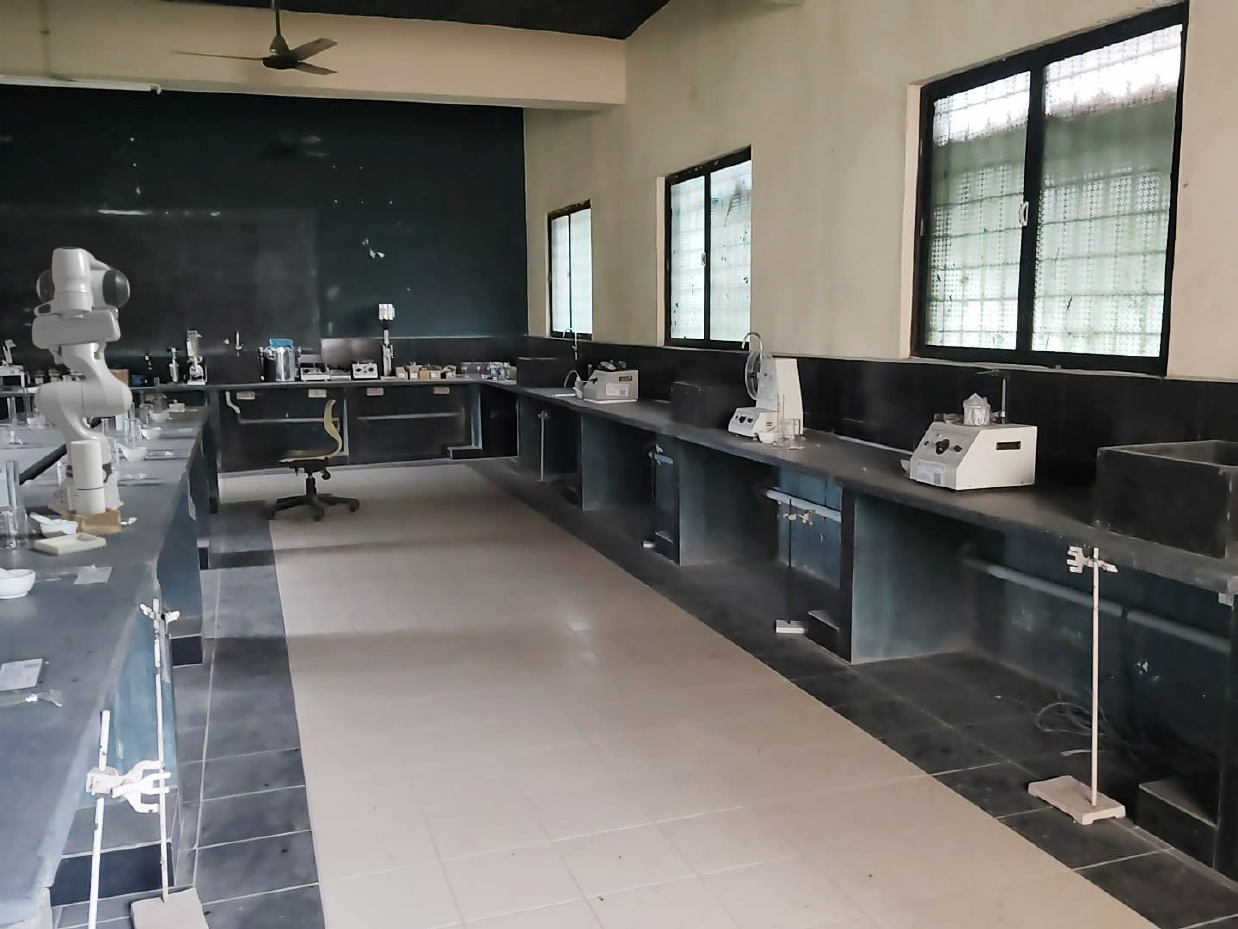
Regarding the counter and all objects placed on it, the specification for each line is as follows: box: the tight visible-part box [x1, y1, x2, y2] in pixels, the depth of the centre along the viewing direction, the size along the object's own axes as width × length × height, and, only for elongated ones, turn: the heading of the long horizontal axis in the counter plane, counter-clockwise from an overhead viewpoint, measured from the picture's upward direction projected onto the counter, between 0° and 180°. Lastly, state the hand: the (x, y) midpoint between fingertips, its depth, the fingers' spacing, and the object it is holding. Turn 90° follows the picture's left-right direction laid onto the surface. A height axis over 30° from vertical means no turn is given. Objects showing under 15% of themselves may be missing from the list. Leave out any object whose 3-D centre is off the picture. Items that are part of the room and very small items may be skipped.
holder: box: [60, 507, 123, 537], centre depth 276 cm, size 11×11×6 cm
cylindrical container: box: [70, 440, 106, 516], centre depth 275 cm, size 7×7×25 cm
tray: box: [33, 533, 107, 556], centre depth 260 cm, size 12×12×2 cm
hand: (78, 361), depth 256 cm, fingers open, 8 cm apart
